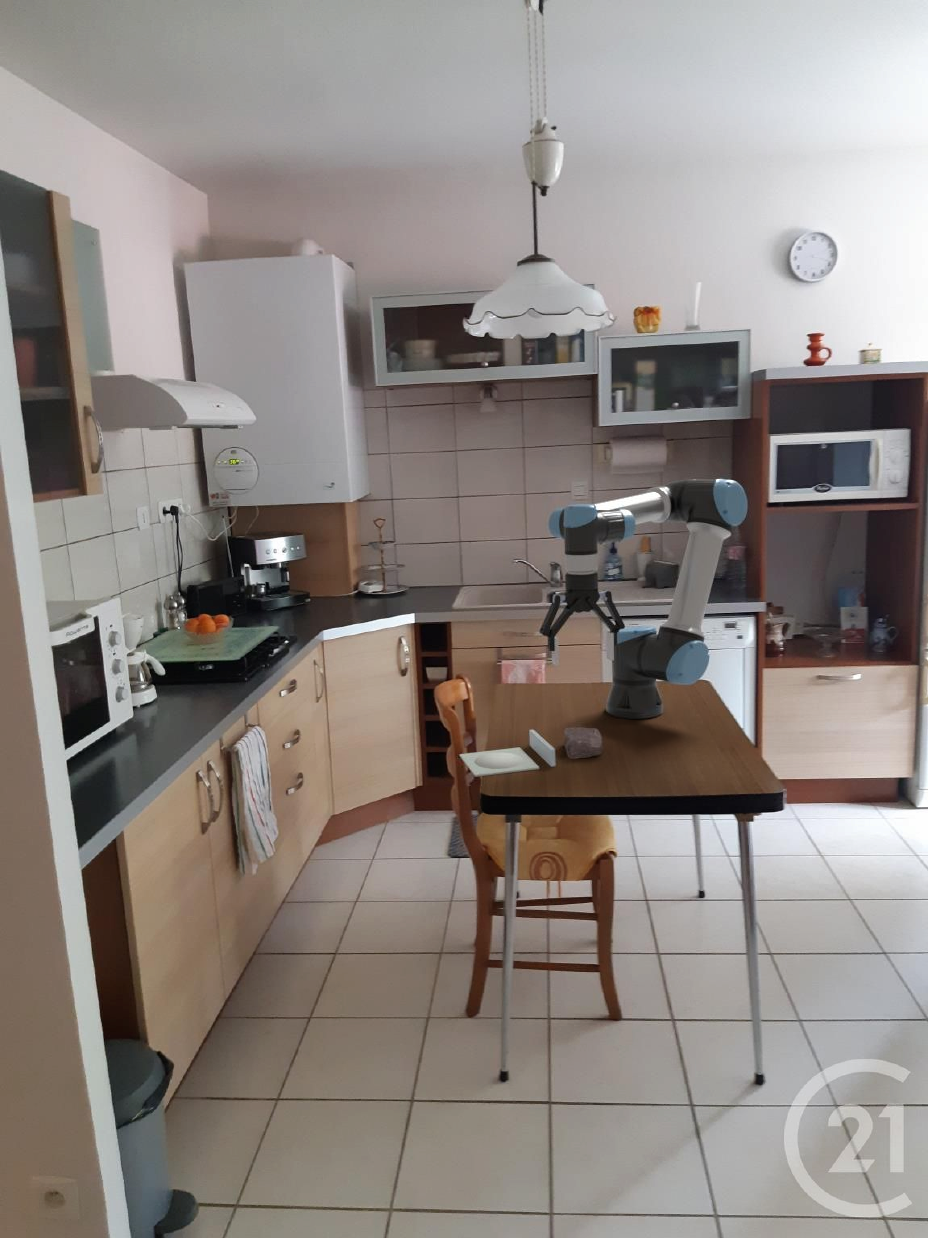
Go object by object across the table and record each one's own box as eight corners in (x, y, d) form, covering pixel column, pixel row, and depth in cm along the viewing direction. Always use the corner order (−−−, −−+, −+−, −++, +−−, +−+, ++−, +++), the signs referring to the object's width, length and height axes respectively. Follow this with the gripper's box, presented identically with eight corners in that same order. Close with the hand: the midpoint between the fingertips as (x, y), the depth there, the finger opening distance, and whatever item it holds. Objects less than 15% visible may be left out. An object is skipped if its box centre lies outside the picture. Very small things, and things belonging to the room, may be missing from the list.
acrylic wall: (533, 745, 226) (533, 729, 225) (555, 766, 210) (555, 749, 210) (529, 745, 225) (529, 730, 225) (551, 766, 210) (550, 749, 209)
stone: (604, 759, 214) (604, 739, 213) (565, 760, 215) (564, 741, 214) (600, 743, 226) (599, 724, 225) (563, 744, 226) (562, 725, 226)
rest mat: (519, 749, 223) (519, 747, 223) (539, 768, 209) (539, 766, 209) (459, 756, 220) (459, 754, 220) (475, 776, 206) (475, 774, 205)
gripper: (625, 566, 219) (626, 653, 223) (524, 573, 214) (527, 663, 217) (638, 570, 212) (639, 660, 216) (534, 577, 206) (537, 670, 210)
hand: (583, 661), depth 217 cm, fingers open, 13 cm apart
